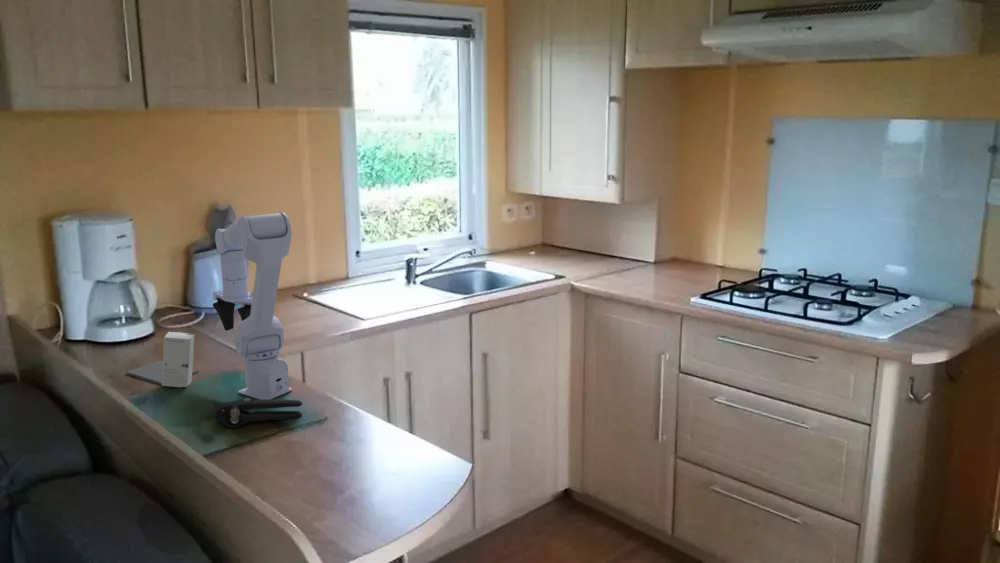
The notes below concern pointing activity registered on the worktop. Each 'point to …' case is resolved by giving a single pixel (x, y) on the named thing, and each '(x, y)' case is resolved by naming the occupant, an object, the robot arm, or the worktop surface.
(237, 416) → the can opener
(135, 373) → the mat
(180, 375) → the skincare box
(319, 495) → the worktop surface
